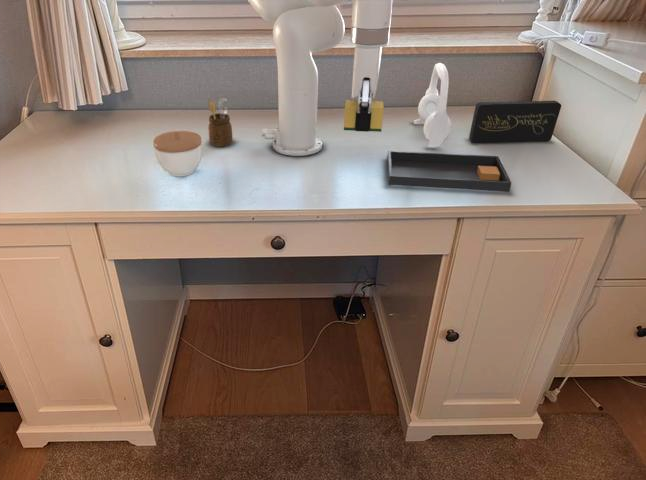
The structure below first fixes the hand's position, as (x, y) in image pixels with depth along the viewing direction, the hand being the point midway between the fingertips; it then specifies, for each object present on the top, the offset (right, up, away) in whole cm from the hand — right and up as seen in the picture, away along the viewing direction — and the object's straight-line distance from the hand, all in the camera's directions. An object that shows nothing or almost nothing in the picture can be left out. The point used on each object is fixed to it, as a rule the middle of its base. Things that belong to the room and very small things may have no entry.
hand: (362, 125), depth 112 cm
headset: (+22, +4, +24) cm, 33 cm away
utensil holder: (-34, +1, +21) cm, 40 cm away
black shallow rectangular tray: (+19, -10, +4) cm, 22 cm away
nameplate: (+41, +2, +21) cm, 46 cm away
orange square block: (+28, -11, +3) cm, 30 cm away
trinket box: (-41, -9, +8) cm, 43 cm away
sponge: (0, 0, 0) cm, 0 cm away
